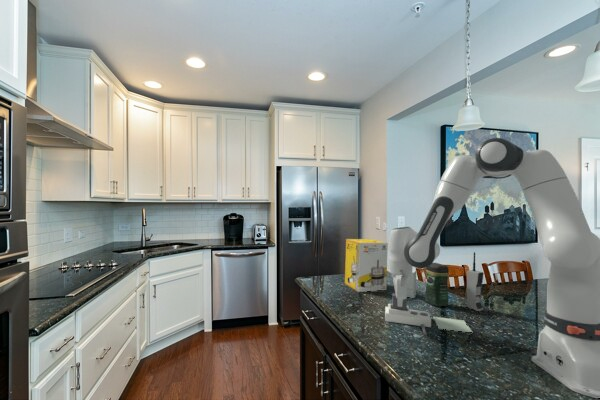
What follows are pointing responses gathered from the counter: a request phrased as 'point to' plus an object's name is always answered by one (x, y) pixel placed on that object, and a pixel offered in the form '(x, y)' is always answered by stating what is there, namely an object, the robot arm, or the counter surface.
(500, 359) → the counter surface
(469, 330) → the mat
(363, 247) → the packaging box
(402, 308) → the block
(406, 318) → the power strip
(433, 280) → the coffee jar
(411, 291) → the supplement box
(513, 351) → the counter surface
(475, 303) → the vintage mobile phone
